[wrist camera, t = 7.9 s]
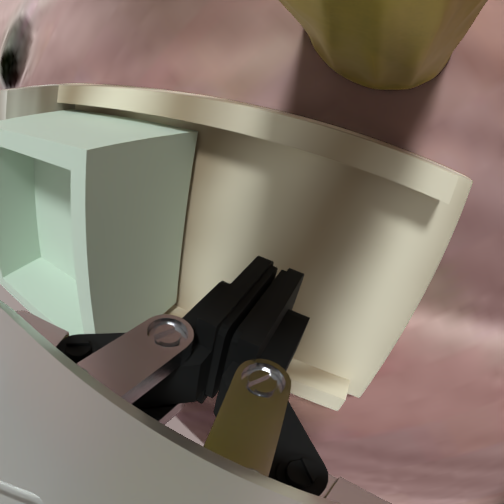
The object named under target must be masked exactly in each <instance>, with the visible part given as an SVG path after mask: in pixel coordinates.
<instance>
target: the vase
mask: <svg viewBox="0 0 504 504" xmlns="http://www.w3.org/2000/svg"><path fill="white" fill-rule="evenodd" d="M279 1H280V2H281V3H282V4H283V5H284V6H285V8H286V9H287V10H288V11H289V12H290V13H291V14H292V15H293V16H294V17H295V18H296V19H297V21H298V22H299V23H300V24H301V25H302V27H303V28H304V30H305V31H306V32H307V33H308V35H309V37H310V40H311V42H312V45H313V47H314V49H315V51H316V52H317V53H318V54H319V56H320V57H321V58H322V59H323V61H324V62H325V63H326V64H327V65H328V66H329V67H330V68H332V69H333V70H334V71H335V72H336V73H338V74H340V75H341V76H343V77H344V78H346V79H348V80H350V81H352V82H355V83H357V84H360V85H362V86H365V87H369V88H373V89H380V90H403V89H411V88H414V87H417V86H419V85H421V84H423V83H425V82H427V81H429V80H431V79H433V78H434V77H435V76H436V75H438V74H439V73H440V71H441V70H442V69H443V68H444V66H445V65H446V63H447V62H448V60H449V58H450V56H451V54H452V52H453V51H454V49H455V48H456V47H457V45H458V44H459V42H460V41H461V40H462V39H463V37H464V36H465V34H466V33H467V31H468V30H469V28H470V27H471V25H472V24H473V22H474V20H475V19H476V17H477V16H478V14H479V12H480V11H481V9H482V8H483V6H484V5H485V3H486V2H487V0H279Z"/></svg>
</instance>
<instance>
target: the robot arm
mask: <svg viewBox="0 0 504 504" xmlns="http://www.w3.org/2000/svg"><path fill="white" fill-rule="evenodd" d="M273 264H274V262H273V261H271V260H269V259H266V258H264V257H261V256H257V257H256V258H255V259H254V260H253V261H252V262H251V263H250V264H249V265H248V266H247V267H246V268H245V269H244V270H243V271H242V272H241V274H240V275H239V276H238V277H237V278H236V279H235V280H234V281H233V282H232V283H231V284H229V283H227V282H225V281H221V282H219V283H218V284H217V285H216V286H215V287H214V288H213V289H212V290H211V291H210V292H209V293H208V294H207V295H206V296H205V297H203V298H202V299H201V300H200V301H199V302H198V303H197V304H196V305H195V306H194V307H193V308H192V309H191V310H190V311H189V312H188V313H187V314H186V315H185V316H184V317H183V318H180V317H178V316H174V315H167V314H162V315H156V316H154V317H151V318H149V319H147V320H146V321H144V322H143V323H141V324H139V325H138V326H136V327H135V328H133V329H131V330H130V331H128V332H127V333H103V334H76V335H71V336H69V332H68V331H66V330H64V329H62V328H60V327H57V326H55V325H53V324H51V323H49V322H47V321H45V320H43V319H41V318H39V317H37V316H35V315H33V314H31V313H29V312H26V311H14V310H13V309H11V308H10V307H9V306H8V305H6V304H4V303H3V302H2V301H0V504H392V503H390V502H388V501H385V500H383V499H381V498H379V497H377V496H376V495H374V494H372V493H370V492H368V491H366V490H364V489H362V488H360V487H358V486H357V485H355V484H353V483H351V482H349V481H347V480H346V479H344V478H342V477H339V478H338V479H337V478H335V477H334V476H332V475H330V474H328V471H327V469H326V466H325V464H324V463H323V461H322V459H321V458H320V456H319V454H318V452H317V451H316V449H315V447H314V445H313V444H312V442H311V440H310V439H309V437H308V435H307V433H306V432H305V430H304V428H303V426H302V424H301V423H300V421H299V419H298V417H297V416H296V414H295V412H294V410H293V408H292V407H291V405H290V403H289V401H288V399H289V395H290V390H291V379H290V377H289V374H288V373H287V372H286V371H287V369H288V367H289V364H290V362H291V360H292V358H293V356H294V354H295V352H296V350H297V347H298V345H299V343H300V341H301V338H302V336H303V334H304V331H305V329H306V327H307V324H308V322H309V319H310V317H307V316H305V315H302V314H300V313H297V312H295V311H293V310H292V309H293V306H294V303H295V300H296V298H297V295H298V292H299V289H300V286H301V283H302V281H303V278H304V273H301V272H299V271H296V270H294V269H291V268H289V269H288V270H287V271H285V270H281V271H280V272H279V274H278V275H277V276H276V274H277V270H278V268H277V267H275V266H273ZM275 277H276V278H275ZM218 390H219V392H218ZM217 392H218V396H217V400H216V404H215V408H214V414H215V416H216V419H215V421H214V424H213V426H212V428H211V431H210V433H209V435H208V437H207V440H206V442H205V444H204V446H201V445H199V444H197V443H195V442H193V441H192V440H190V439H188V438H186V437H184V436H183V435H181V434H179V433H177V432H176V431H174V430H172V429H170V428H169V427H167V426H165V424H166V423H167V422H168V421H169V420H171V419H172V418H173V417H174V416H175V415H176V414H177V413H178V412H180V411H181V410H182V408H183V407H184V406H185V403H188V402H195V401H198V402H200V403H203V402H204V400H205V399H206V398H207V396H209V397H211V398H213V397H214V396H215V395H216V393H217Z"/></svg>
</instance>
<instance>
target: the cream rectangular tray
mask: <svg viewBox="0 0 504 504" xmlns="http://www.w3.org/2000/svg"><path fill="white" fill-rule="evenodd" d="M70 109H72V110H80V111H88V112H95V113H102V114H109V115H116V116H122V117H128V118H134V119H139V120H145V121H150V122H156V123H161V124H166V125H171V126H176V127H180V128H185V129H190V130H194V131H198V135H197V141H196V147H195V153H194V160H193V166H192V173H191V179H190V186H189V193H188V201H187V208H186V216H185V224H184V232H183V240H182V249H181V258H180V268H179V278H178V289H177V300H176V303H175V304H174V305H173V306H172V307H170V308H169V309H168V310H167V311H166V312H165V313H164V314H167V315H174V316H178V317H180V318H183V317H184V316H185V315H186V314H187V313H188V312H189V311H190V310H191V309H192V308H193V307H194V306H195V305H196V304H197V303H198V302H199V301H200V300H201V299H202V298H203V297H205V296H206V295H207V294H208V293H209V292H210V291H211V290H212V289H213V288H214V287H215V286H216V285H217V284H218V283H219V282H221V281H225V282H227V283H229V284H231V283H232V282H233V281H234V280H235V279H236V278H237V277H238V276H239V275H240V274H241V272H242V271H243V270H244V269H245V268H246V267H247V266H248V265H249V264H250V263H251V262H252V261H253V260H254V259H255V258H256V257H257V256H261V257H264V258H266V259H269V260H271V261H273V262H274V264H273V266H275V267H277V268H278V270H277V274H276V276H277V275H278V274H279V272H280V271H281V270H285V271H287V270H288V269H289V268H291V269H294V270H296V271H299V272H301V273H304V278H303V281H302V283H301V286H300V289H299V292H298V295H297V298H296V300H295V303H294V306H293V309H292V310H293V311H295V312H297V313H300V314H302V315H305V316H307V317H310V319H309V322H308V324H307V327H306V329H305V331H304V334H303V336H302V338H301V341H300V343H299V345H298V347H297V350H296V352H295V354H294V356H293V358H292V360H291V362H290V364H289V367H288V369H287V371H286V372H287V373H288V374H289V377H290V379H291V390H290V393H291V394H294V395H296V396H299V397H301V398H304V399H307V400H309V401H312V402H314V403H317V404H320V405H322V406H325V407H328V408H330V409H333V410H336V411H338V410H339V408H340V407H341V406H342V404H343V403H344V401H345V400H346V396H347V394H350V395H353V396H355V397H358V398H360V396H361V395H362V394H363V392H364V391H365V389H366V388H367V387H368V385H369V384H370V382H371V381H372V379H373V378H374V376H375V375H376V373H377V372H378V370H379V369H380V367H381V366H382V364H383V363H384V361H385V360H386V358H387V357H388V355H389V353H390V352H391V350H392V349H393V347H394V345H395V344H396V342H397V341H398V339H399V337H400V336H401V334H402V332H403V331H404V329H405V327H406V325H407V324H408V322H409V320H410V318H411V317H412V315H413V313H414V311H415V309H416V308H417V306H418V304H419V302H420V300H421V298H422V297H423V295H424V293H425V291H426V289H427V287H428V285H429V283H430V281H431V279H432V277H433V275H434V273H435V271H436V269H437V267H438V265H439V263H440V261H441V259H442V256H443V254H444V252H445V250H446V248H447V245H448V243H449V241H450V239H451V236H452V234H453V232H454V229H455V227H456V225H457V222H458V220H459V217H460V215H461V212H462V210H463V207H464V205H465V202H466V199H467V197H468V194H469V191H470V188H471V186H472V183H473V181H472V180H471V179H469V178H468V177H466V176H465V175H463V174H460V173H458V172H456V171H454V170H452V169H449V168H447V167H445V166H443V165H440V164H438V163H436V162H433V161H431V160H429V159H426V158H424V157H421V156H419V155H416V154H414V153H411V152H409V151H406V150H404V149H401V148H399V147H396V146H393V145H391V144H388V143H385V142H382V141H379V140H377V139H374V138H371V137H368V136H365V135H362V134H359V133H356V132H353V131H350V130H347V129H344V128H340V127H337V126H334V125H330V124H327V123H324V122H320V121H317V120H313V119H310V118H306V117H302V116H298V115H295V114H291V113H287V112H283V111H279V110H274V109H270V108H266V107H261V106H257V105H252V104H248V103H243V102H238V101H233V100H227V99H222V98H216V97H211V96H205V95H198V94H192V93H185V92H178V91H170V90H162V89H154V88H144V87H133V86H121V85H106V84H83V83H69V84H52V85H40V86H29V87H20V88H12V89H4V90H0V121H1V120H6V119H11V118H16V117H22V116H28V115H34V114H40V113H47V112H54V111H61V110H70ZM275 278H276V277H275Z"/></svg>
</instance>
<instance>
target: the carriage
mask: <svg viewBox="0 0 504 504" xmlns="http://www.w3.org/2000/svg"><path fill="white" fill-rule="evenodd" d="M197 135H198V131H194V130H190V129H185V128H180V127H176V126H171V125H166V124H161V123H156V122H150V121H145V120H139V119H134V118H128V117H122V116H116V115H109V114H102V113H95V112H88V111H80V110H72V109H70V110H61V111H54V112H47V113H40V114H34V115H28V116H22V117H16V118H11V119H6V120H1V121H0V284H1V285H2V286H3V287H4V288H5V289H6V290H7V291H8V292H9V293H10V294H11V295H12V296H13V297H14V298H15V299H16V300H18V302H20V303H21V304H22V305H23V306H24V307H25V308H26V309H27V310H28V311H29V312H30V313H32V314H33V315H35V316H37V317H39V318H41V319H43V320H45V321H47V322H49V323H51V324H53V325H55V326H57V327H60V328H62V329H64V330H66V331H68V332H69V336H71V335H76V334H103V333H127V332H128V331H130V330H131V329H133V328H135V327H136V326H138V325H139V324H141V323H143V322H144V321H146V320H147V319H149V318H151V317H154V316H156V315H162V314H164V313H165V312H166V311H167V310H168V309H169V308H170V307H172V306H173V305H174V304H175V303H176V300H177V289H178V278H179V268H180V258H181V249H182V240H183V232H184V224H185V216H186V208H187V201H188V193H189V186H190V179H191V173H192V166H193V160H194V153H195V147H196V141H197Z"/></svg>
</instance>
